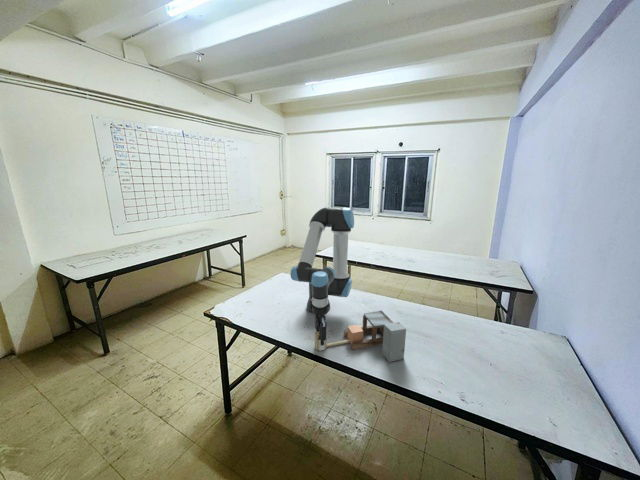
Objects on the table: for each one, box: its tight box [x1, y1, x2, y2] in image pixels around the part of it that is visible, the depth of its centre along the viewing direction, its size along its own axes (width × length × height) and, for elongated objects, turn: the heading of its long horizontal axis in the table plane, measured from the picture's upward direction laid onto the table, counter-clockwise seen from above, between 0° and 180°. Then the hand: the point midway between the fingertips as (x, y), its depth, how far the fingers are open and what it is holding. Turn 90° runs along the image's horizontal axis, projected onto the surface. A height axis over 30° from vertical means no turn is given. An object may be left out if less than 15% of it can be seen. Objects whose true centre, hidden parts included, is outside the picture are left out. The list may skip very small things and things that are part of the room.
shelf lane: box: [343, 310, 395, 351], centre depth 130 cm, size 12×22×11 cm, turn 106°
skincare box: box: [381, 321, 407, 363], centre depth 117 cm, size 8×7×16 cm
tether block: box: [314, 324, 364, 351], centre depth 126 cm, size 6×24×8 cm, turn 106°
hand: (320, 346), depth 124 cm, fingers closed on tether block, 3 cm apart
